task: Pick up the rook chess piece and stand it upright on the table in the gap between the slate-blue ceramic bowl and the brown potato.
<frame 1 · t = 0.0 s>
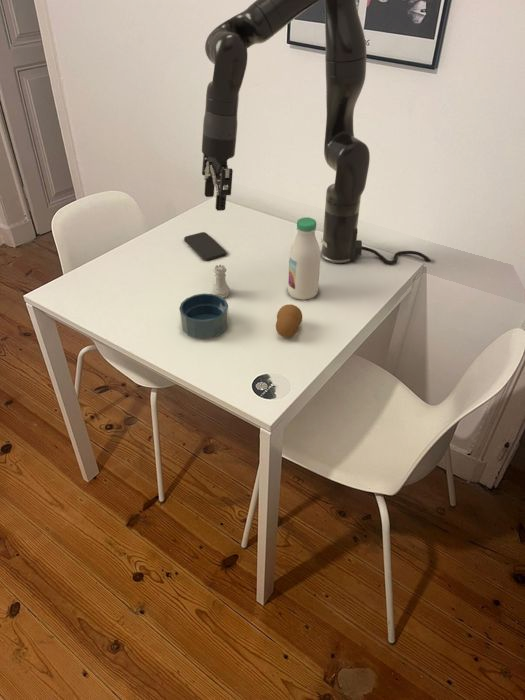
hand: (214, 203, 128), 22 cm above the table, tool pointing down, fingers open, 8 cm apart
potato: (288, 330, 125), on the table
milk bottle: (302, 292, 138), on the table
rook chess piece: (221, 294, 138), on the table
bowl: (205, 325, 127), on the table
phone: (204, 247, 157), on the table
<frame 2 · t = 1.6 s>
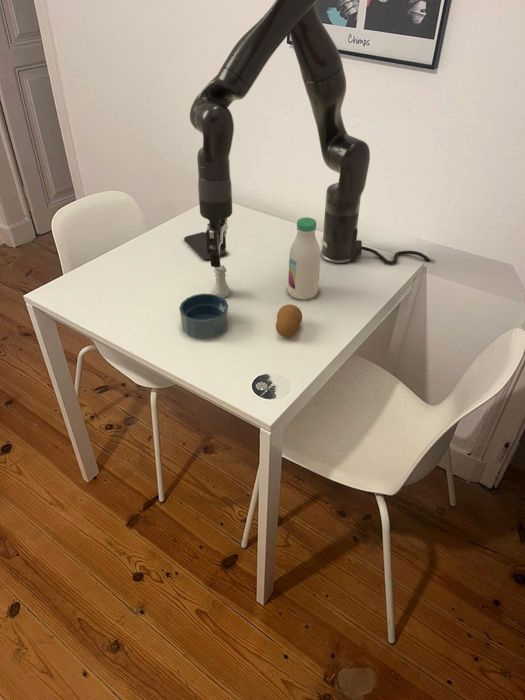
hand: (218, 257, 131), 11 cm above the table, tool pointing down, fingers open, 8 cm apart
nothing on the table moved.
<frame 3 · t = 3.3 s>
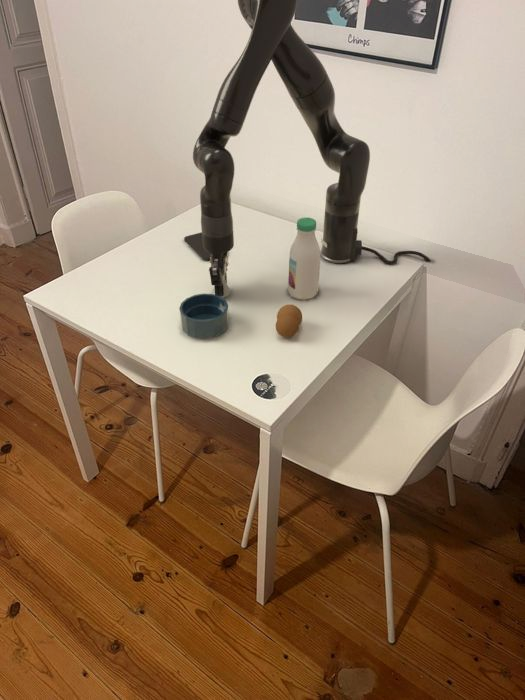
hand: (221, 289, 137), 1 cm above the table, tool pointing down, fingers closed on rook chess piece, 4 cm apart
rook chess piece: (221, 294, 138), on the table, touching gripper
everything else where it was.
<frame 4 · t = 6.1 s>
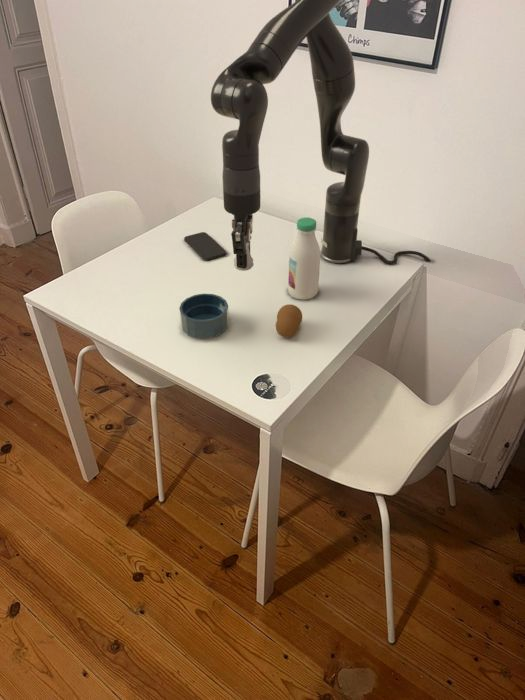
hand: (243, 261, 117), 17 cm above the table, tool pointing down, fingers closed on rook chess piece, 4 cm apart
rook chess piece: (243, 267, 118), point 15 cm above the table, touching gripper
everything else where it was.
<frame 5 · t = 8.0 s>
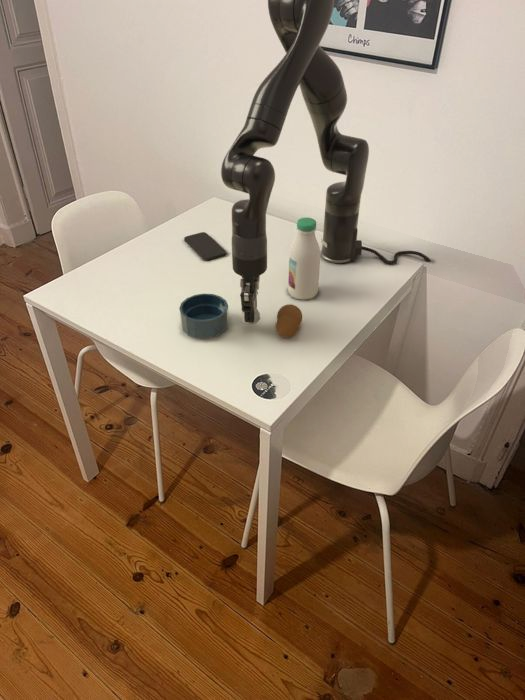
hand: (250, 315, 124), 4 cm above the table, tool pointing down, fingers closed on rook chess piece, 4 cm apart
rook chess piece: (250, 320, 125), point 2 cm above the table, touching gripper
everything else where it was.
when the fingers open (1 cm above the table, at t = 9.2 s): rook chess piece stays where it is, on the table.
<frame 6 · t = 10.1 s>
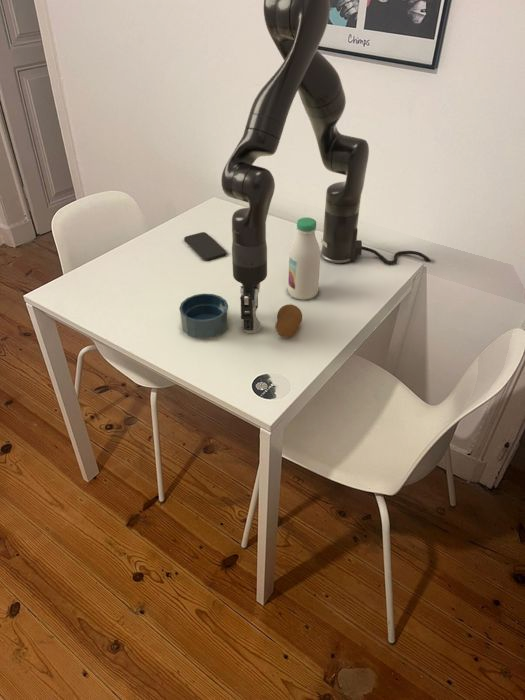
hand: (251, 318, 124), 3 cm above the table, tool pointing down, fingers open, 8 cm apart
rook chess piece: (251, 329, 126), on the table
everything else where it was.
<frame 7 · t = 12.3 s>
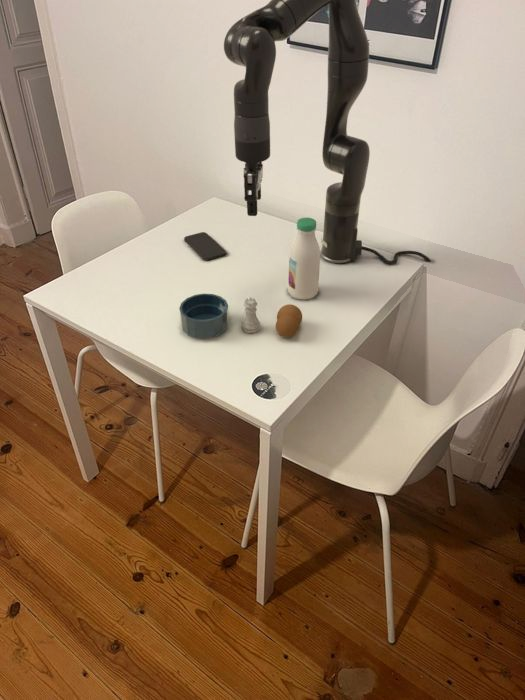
hand: (254, 206, 122), 24 cm above the table, tool pointing down, fingers open, 8 cm apart
nothing on the table moved.
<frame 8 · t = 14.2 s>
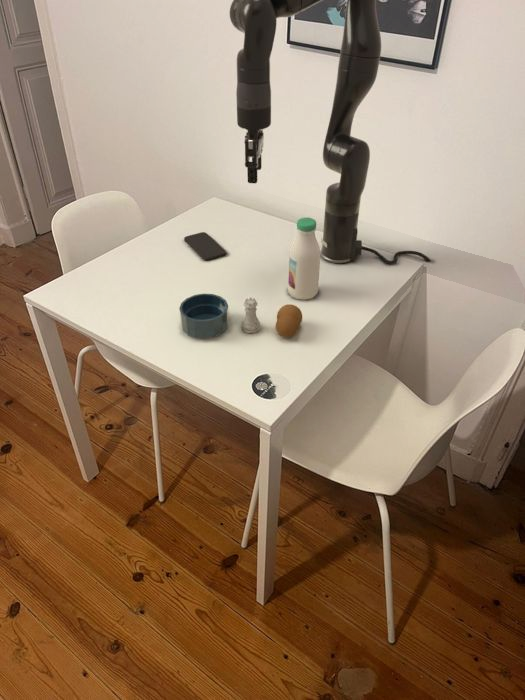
hand: (254, 175, 126), 28 cm above the table, tool pointing down, fingers open, 8 cm apart
nothing on the table moved.
at the end: rook chess piece inside the target area (0.2 cm from its centre), on the table; rook chess piece tilted 0°; the gripper is holding nothing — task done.
